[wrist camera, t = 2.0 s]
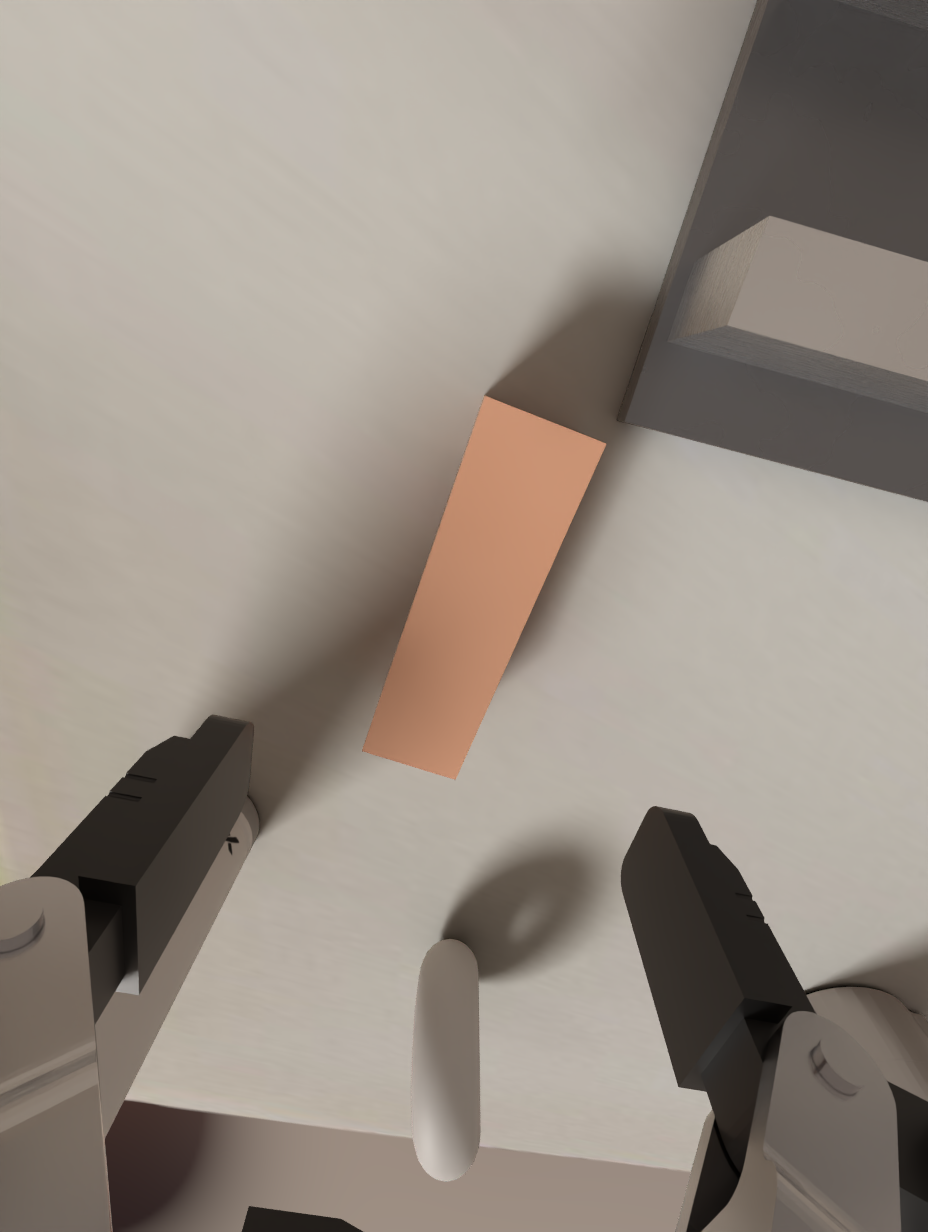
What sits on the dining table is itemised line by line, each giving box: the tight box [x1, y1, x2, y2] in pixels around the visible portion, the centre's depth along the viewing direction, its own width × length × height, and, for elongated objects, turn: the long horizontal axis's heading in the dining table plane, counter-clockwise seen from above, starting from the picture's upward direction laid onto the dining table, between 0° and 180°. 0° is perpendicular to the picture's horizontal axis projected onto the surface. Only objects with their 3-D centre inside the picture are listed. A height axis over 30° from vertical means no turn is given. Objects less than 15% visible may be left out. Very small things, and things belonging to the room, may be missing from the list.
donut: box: [411, 939, 480, 1182], centre depth 28 cm, size 10×4×10 cm, turn 1°
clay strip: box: [362, 395, 606, 779], centre depth 21 cm, size 4×14×5 cm, turn 160°
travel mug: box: [95, 797, 259, 1139], centre depth 20 cm, size 6×7×20 cm
